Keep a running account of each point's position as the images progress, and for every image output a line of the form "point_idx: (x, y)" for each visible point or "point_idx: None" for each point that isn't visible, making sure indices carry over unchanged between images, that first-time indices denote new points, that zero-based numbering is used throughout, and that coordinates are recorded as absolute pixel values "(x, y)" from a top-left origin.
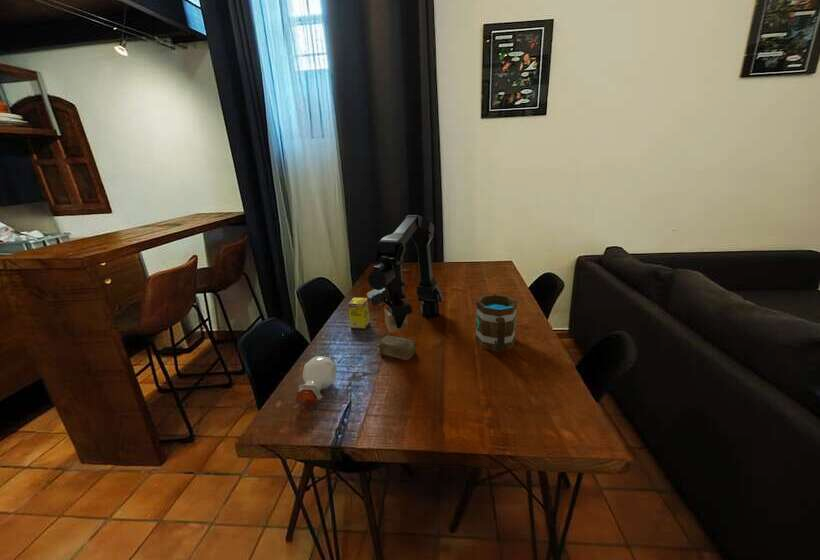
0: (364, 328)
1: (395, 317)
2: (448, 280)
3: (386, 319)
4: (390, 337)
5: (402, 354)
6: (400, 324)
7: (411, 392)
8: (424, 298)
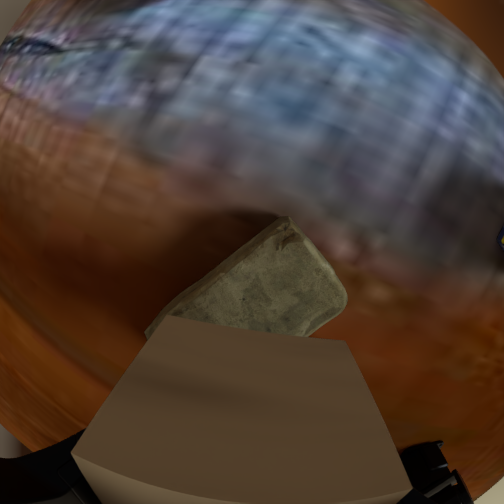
0: (501, 239)
1: (32, 455)
2: (474, 481)
3: (285, 395)
4: (301, 313)
5: (170, 303)
6: None
7: (18, 231)
8: (434, 495)
